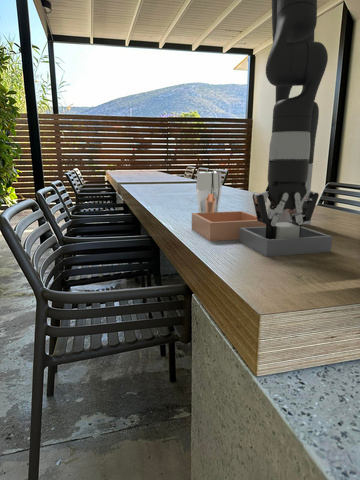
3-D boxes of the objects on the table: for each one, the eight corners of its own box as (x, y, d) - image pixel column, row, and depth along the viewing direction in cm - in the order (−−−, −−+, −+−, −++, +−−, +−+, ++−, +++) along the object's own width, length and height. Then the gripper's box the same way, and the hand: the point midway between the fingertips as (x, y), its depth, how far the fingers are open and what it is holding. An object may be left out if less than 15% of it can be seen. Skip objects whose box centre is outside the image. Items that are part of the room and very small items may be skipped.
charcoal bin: (294, 241, 77) (296, 224, 76) (330, 256, 65) (332, 236, 64) (238, 245, 73) (239, 227, 72) (265, 261, 62) (267, 240, 61)
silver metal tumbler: (219, 228, 91) (220, 172, 87) (194, 227, 92) (194, 172, 89) (221, 224, 98) (222, 171, 94) (197, 223, 99) (198, 171, 95)
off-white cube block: (285, 242, 72) (287, 222, 71) (298, 248, 67) (300, 226, 66) (266, 244, 71) (268, 223, 70) (278, 249, 66) (279, 227, 65)
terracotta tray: (241, 229, 90) (241, 211, 89) (266, 241, 77) (268, 220, 76) (191, 232, 87) (191, 213, 86) (209, 245, 74) (210, 222, 72)
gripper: (308, 157, 70) (301, 236, 74) (246, 157, 67) (242, 240, 71) (333, 157, 63) (324, 244, 67) (265, 157, 59) (259, 249, 64)
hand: (282, 242), depth 69 cm, fingers closed on off-white cube block, 4 cm apart
